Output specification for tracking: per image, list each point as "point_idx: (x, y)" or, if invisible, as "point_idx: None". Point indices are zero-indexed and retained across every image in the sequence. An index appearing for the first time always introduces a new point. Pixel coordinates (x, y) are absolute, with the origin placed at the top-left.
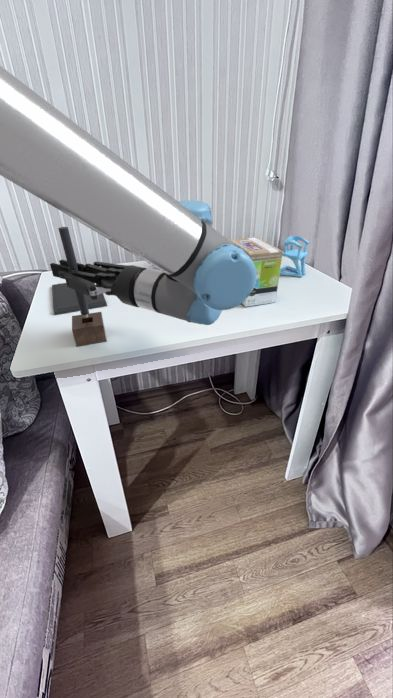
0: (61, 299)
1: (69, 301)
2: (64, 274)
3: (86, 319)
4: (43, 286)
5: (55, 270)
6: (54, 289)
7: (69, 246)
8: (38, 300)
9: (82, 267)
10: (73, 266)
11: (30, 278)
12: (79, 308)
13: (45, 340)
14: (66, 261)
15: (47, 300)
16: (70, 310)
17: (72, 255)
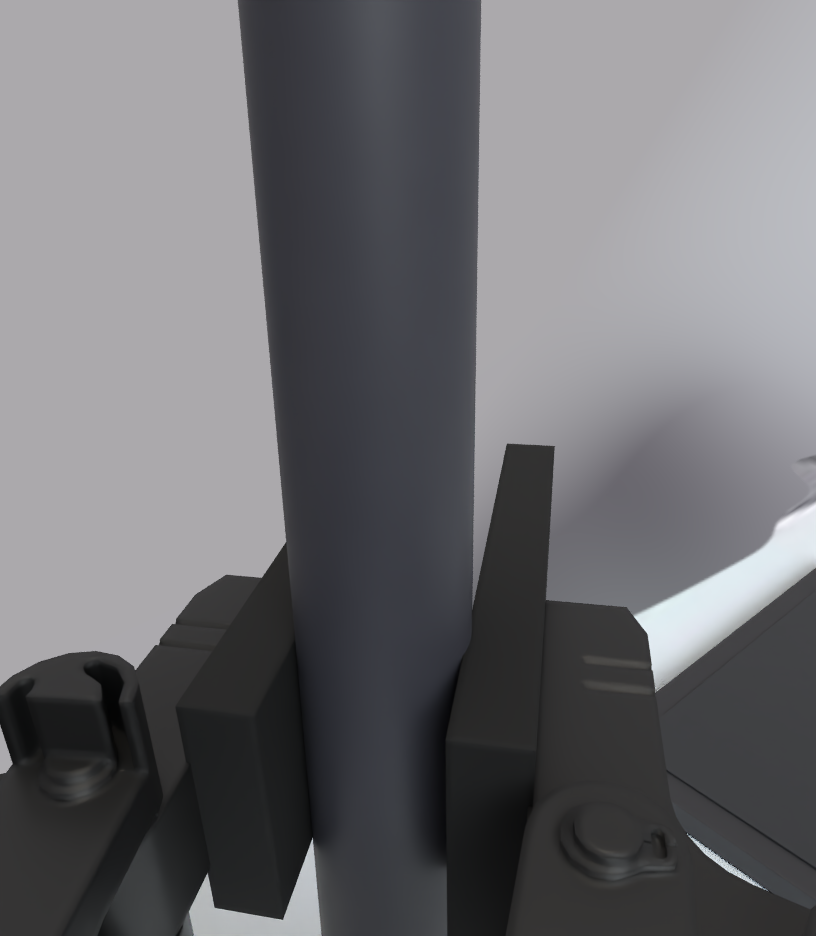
0: (748, 686)
1: (769, 742)
2: (144, 690)
3: None
4: (794, 539)
5: None
6: (805, 591)
7: (301, 212)
8: (668, 599)
9: (484, 793)
10: (314, 664)
11: (798, 472)
12: (759, 867)
13: (264, 928)
14: (521, 497)
15: (701, 630)
16: (690, 822)
17: (333, 452)
